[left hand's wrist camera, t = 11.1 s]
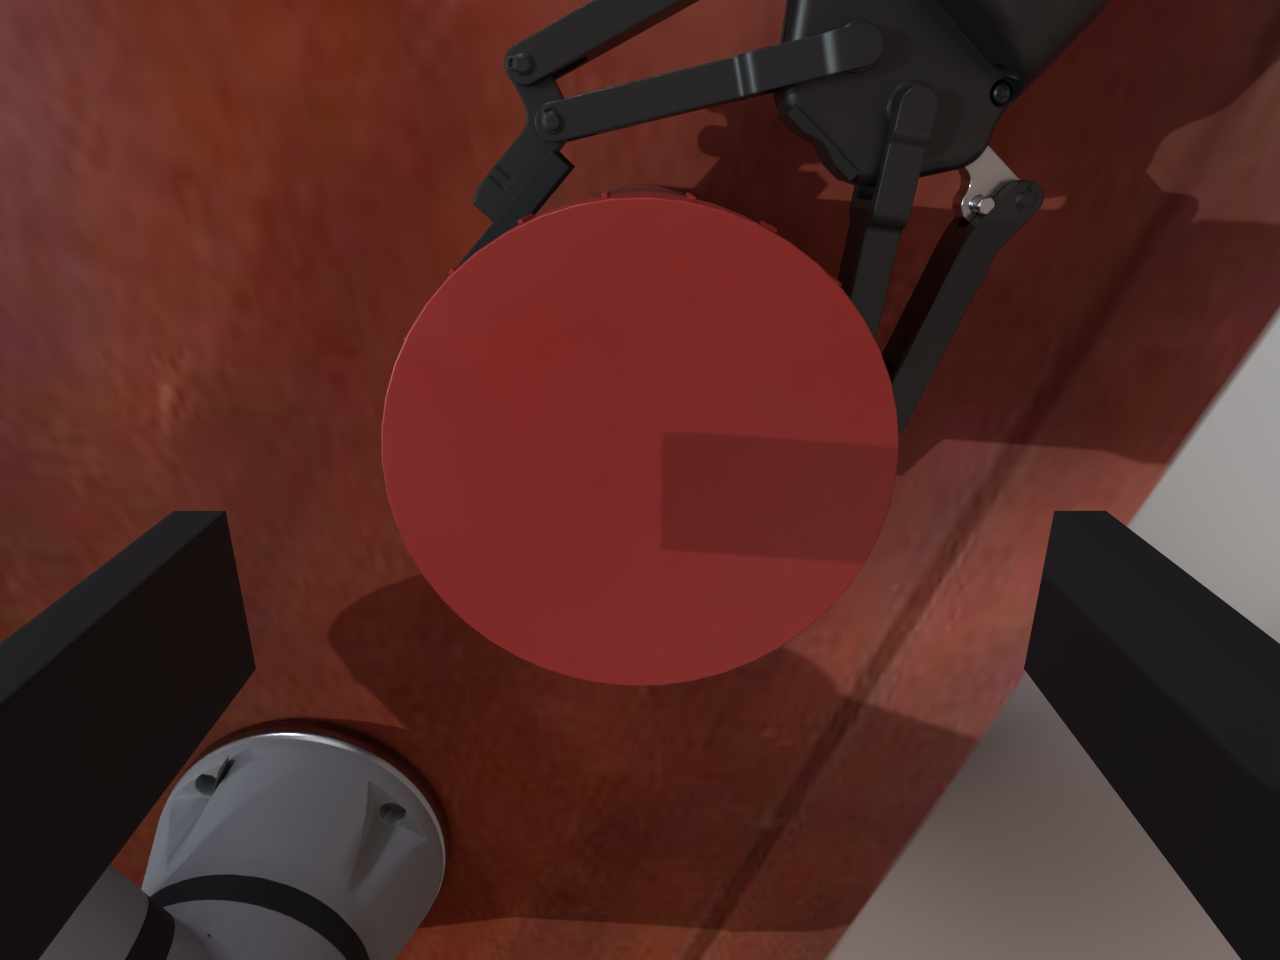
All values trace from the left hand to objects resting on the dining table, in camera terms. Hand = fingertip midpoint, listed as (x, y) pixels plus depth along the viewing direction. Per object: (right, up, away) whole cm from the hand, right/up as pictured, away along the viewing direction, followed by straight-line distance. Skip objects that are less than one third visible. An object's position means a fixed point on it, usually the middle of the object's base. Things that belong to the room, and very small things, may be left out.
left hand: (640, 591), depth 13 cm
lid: (0, +2, +5) cm, 6 cm away
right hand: (-3, +4, +19) cm, 20 cm away
